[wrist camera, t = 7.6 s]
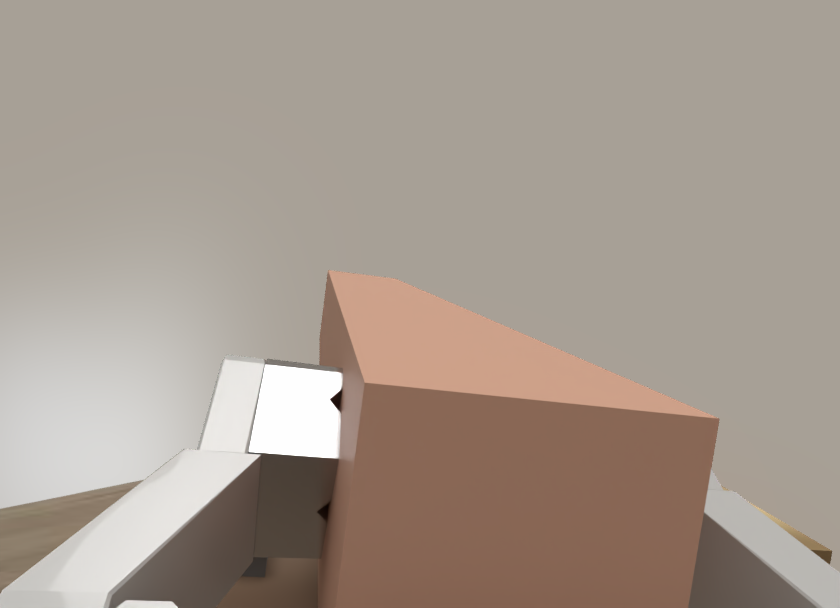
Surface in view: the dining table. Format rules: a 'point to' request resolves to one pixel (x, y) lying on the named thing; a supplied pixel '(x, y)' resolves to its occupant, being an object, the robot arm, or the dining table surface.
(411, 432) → the terracotta bar
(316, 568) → the walnut stool
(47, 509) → the dining table surface
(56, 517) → the dining table surface
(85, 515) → the dining table surface
